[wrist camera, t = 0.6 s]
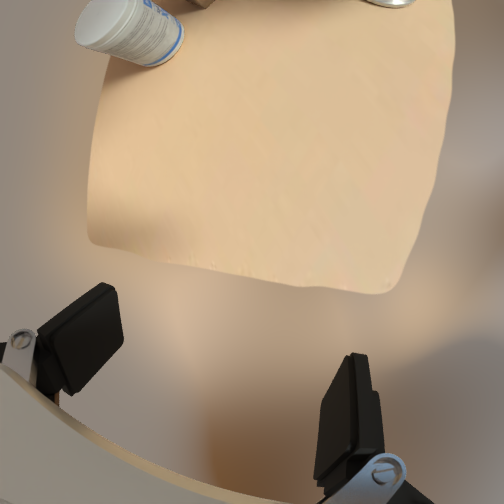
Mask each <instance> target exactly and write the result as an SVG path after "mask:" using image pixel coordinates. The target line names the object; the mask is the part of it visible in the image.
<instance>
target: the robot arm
mask: <svg viewBox="0 0 504 504" xmlns="http://www.w3.org/2000/svg"><path fill="white" fill-rule="evenodd" d="M367 1H369V2H372V3H374V4H377V5H381V6H385V7H391V8H401V7H406V6H409V5H411V4H412V3H414V1H415V0H367ZM37 332H38V336H37V337H36V336H35V333H34V332H33V331H32V330H29V329H20V330H17V331H15V332H14V333H13V334H11V336H10V337H9V339H8V341H7V342H3V343H0V504H290V503H284V502H278V501H273V500H268V499H263V498H257V497H253V496H249V495H245V494H241V493H237V492H233V491H229V490H225V489H222V488H218V487H215V486H212V485H208V484H205V483H202V482H199V481H197V480H194V479H191V478H188V477H185V476H183V475H180V474H178V473H175V472H173V471H170V470H168V469H165V468H163V467H160V466H158V465H156V464H154V463H151V462H150V461H147V460H145V459H143V458H141V457H139V456H137V455H135V454H133V453H131V452H129V451H127V450H125V449H124V448H122V447H120V446H118V445H116V444H114V443H113V442H111V441H109V440H108V439H106V438H104V437H102V436H101V435H99V434H97V433H96V432H94V431H93V430H91V429H90V428H88V427H87V426H85V425H84V424H82V423H81V422H79V421H77V420H76V419H75V418H73V417H72V416H70V415H69V414H68V413H66V412H65V411H64V410H62V409H61V408H60V407H59V391H60V390H61V389H63V391H64V392H66V393H67V394H68V395H70V396H73V395H74V394H75V393H78V392H80V391H81V389H82V388H83V387H84V386H85V385H86V384H87V383H88V382H89V380H91V378H92V377H93V376H94V375H95V374H96V373H97V372H98V371H99V370H100V369H101V367H102V366H103V365H104V364H105V363H106V362H107V361H108V360H109V359H110V358H111V357H112V355H113V354H114V353H115V352H116V351H117V350H118V349H119V348H120V347H121V346H122V344H123V341H124V336H123V330H122V324H121V318H120V311H119V304H118V295H117V292H116V291H115V288H114V287H113V286H111V285H109V284H106V283H103V282H101V283H99V284H98V285H97V286H95V287H94V288H92V289H91V290H89V291H88V292H87V293H85V294H84V295H82V296H81V297H80V298H78V299H77V300H76V301H74V302H73V303H71V304H70V305H69V306H68V307H66V308H65V309H63V310H62V311H61V312H60V313H58V314H57V315H56V316H54V317H53V318H52V319H50V320H49V321H48V322H46V323H45V324H44V325H42V326H41V327H40V328H39V329H37ZM313 478H314V480H317V487H324V495H325V496H324V497H323V498H322V499H321V500H319V501H318V502H317V503H316V504H434V503H433V502H432V501H431V500H429V499H428V498H427V497H425V496H424V495H423V494H422V493H420V492H419V491H418V490H417V489H416V488H414V487H413V486H412V485H411V484H409V483H408V482H407V481H406V480H405V478H406V466H405V464H404V462H403V461H402V460H401V459H400V458H399V457H397V456H396V455H394V454H389V453H385V449H384V435H383V424H382V415H381V406H380V399H379V394H378V392H377V391H373V390H372V385H371V377H370V370H369V363H368V357H367V355H364V354H358V353H351V354H350V356H347V355H346V356H345V358H344V360H343V362H342V364H341V366H340V368H339V370H338V372H337V374H336V376H335V377H334V379H333V381H332V383H331V385H330V387H329V389H328V391H327V393H326V394H325V396H324V398H323V400H322V403H321V409H320V421H319V432H318V442H317V451H316V459H315V468H314V476H313Z"/></svg>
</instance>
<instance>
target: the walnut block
mask: <svg viewBox="0 0 504 504" xmlns="http://www.w3.org/2000/svg"><path fill="white" fill-rule="evenodd" d="M187 1H189V2H191V3H193V4H195V5H198V6H200V7H202V8H204V9H206V8H207V7H208V6H209V5H210V4H212V3H213V2H214V1H215V0H187Z"/></svg>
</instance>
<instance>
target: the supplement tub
mask: <svg viewBox="0 0 504 504" xmlns="http://www.w3.org/2000/svg"><path fill="white" fill-rule="evenodd" d="M183 39H184V27H183V25H182V23H181V22H180V21H179V20H177V19H176V18H175V17H173V16H172V15H171V14H169V13H168V12H167V11H165V10H164V9H162V8H161V7H159V6H158V5H157V4H155V3H154V2H152V1H151V0H91V1H90V2H89V3H88V5H87V6H86V7H85V8H84V10H83V11H82V13H81V15H80V17H79V19H78V21H77V23H76V27H75V40H76V42H77V43H78V44H79V45H81V46H84V47H86V48H88V49H91V50H95V51H98V52H102V53H105V54H109V55H112V56H115V57H118V58H121V59H124V60H127V61H130V62H133V63H136V64H139V65H142V66H146V67H151V66H156V65H160V64H162V63H164V62H166V61H167V60H169V59H170V58H171V57H172V56H174V54H175V53H176V52H177V51H178V50H179V48H180V46H181V45H182V42H183Z"/></svg>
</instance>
